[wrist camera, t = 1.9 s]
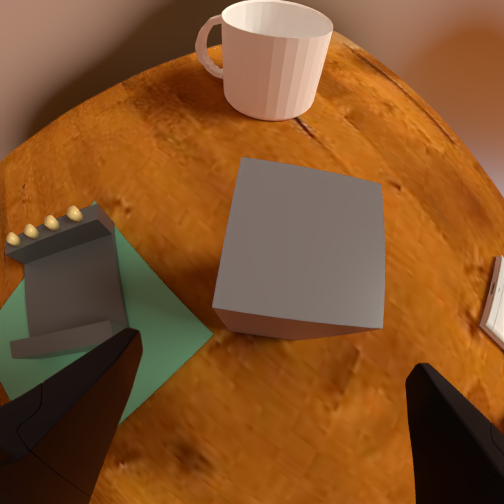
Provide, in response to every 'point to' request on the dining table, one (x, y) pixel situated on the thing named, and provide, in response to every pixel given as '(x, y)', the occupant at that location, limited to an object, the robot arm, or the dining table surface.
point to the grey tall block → (301, 254)
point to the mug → (269, 56)
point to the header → (69, 283)
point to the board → (140, 317)
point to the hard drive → (495, 305)
